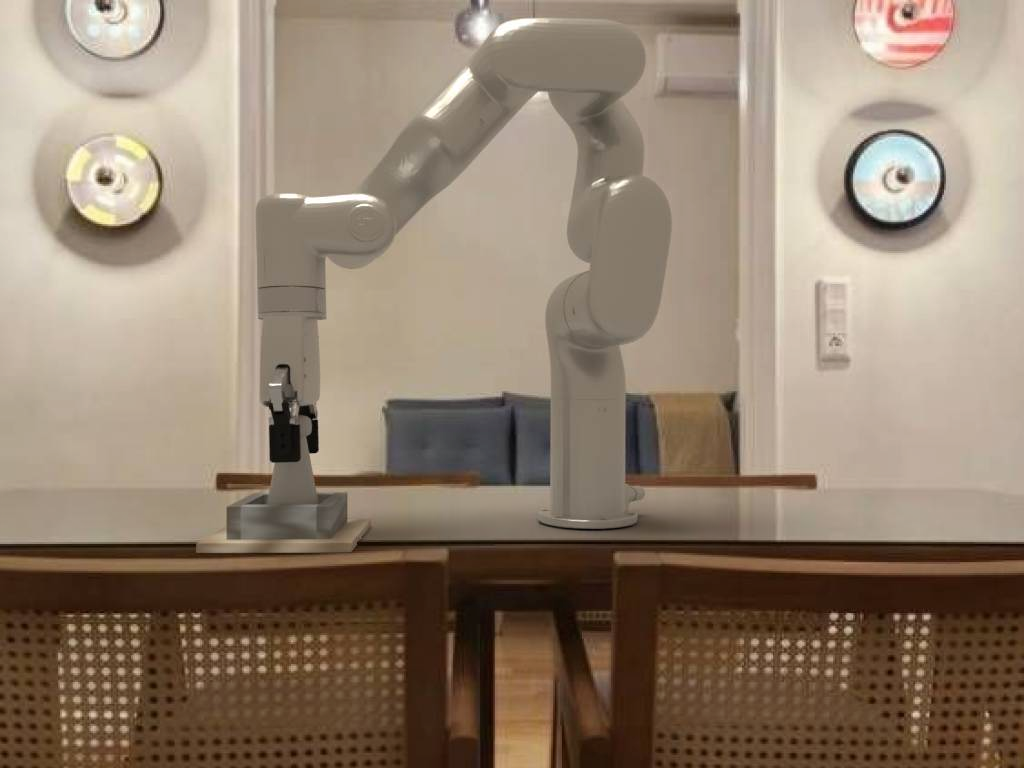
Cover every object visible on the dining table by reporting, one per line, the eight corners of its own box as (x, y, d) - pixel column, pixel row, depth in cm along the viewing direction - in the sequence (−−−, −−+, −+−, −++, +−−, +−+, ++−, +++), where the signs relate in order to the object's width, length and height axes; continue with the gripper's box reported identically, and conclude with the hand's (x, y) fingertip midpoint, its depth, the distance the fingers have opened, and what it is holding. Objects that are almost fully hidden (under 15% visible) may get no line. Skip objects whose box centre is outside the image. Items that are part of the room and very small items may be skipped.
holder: (370, 526, 103) (370, 490, 102) (351, 552, 88) (351, 509, 87) (238, 527, 102) (238, 490, 102) (196, 552, 87) (196, 509, 87)
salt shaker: (326, 525, 97) (325, 414, 97) (308, 534, 92) (308, 416, 92) (277, 525, 98) (277, 413, 98) (257, 533, 92) (257, 416, 92)
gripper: (277, 312, 103) (280, 451, 103) (236, 300, 86) (239, 466, 86) (339, 311, 103) (341, 449, 104) (309, 299, 86) (313, 465, 86)
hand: (295, 457), depth 95 cm, fingers open, 9 cm apart
